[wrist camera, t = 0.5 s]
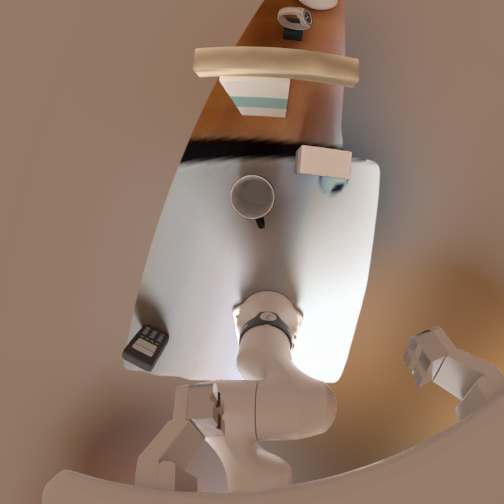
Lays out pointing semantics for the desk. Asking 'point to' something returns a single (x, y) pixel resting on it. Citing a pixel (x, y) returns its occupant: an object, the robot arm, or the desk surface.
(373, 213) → the desk surface
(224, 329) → the desk surface
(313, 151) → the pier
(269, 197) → the mug
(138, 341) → the card reader
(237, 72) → the batten
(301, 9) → the watch
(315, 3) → the flower in vase
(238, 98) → the tower
